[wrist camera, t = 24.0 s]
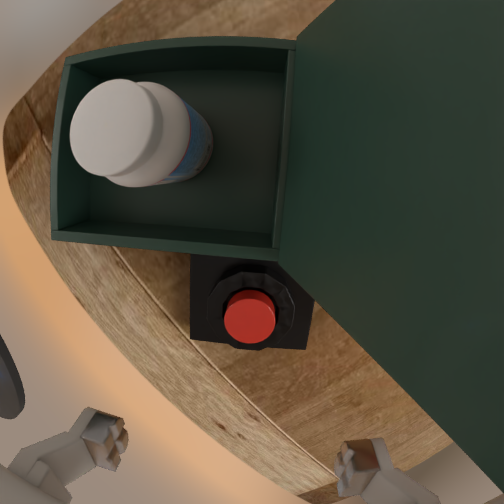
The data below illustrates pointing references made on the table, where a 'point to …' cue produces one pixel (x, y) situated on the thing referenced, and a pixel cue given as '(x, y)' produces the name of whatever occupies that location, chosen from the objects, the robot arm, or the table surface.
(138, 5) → the table surface
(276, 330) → the control block
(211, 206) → the box
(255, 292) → the button
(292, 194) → the box lid
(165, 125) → the pill bottle
